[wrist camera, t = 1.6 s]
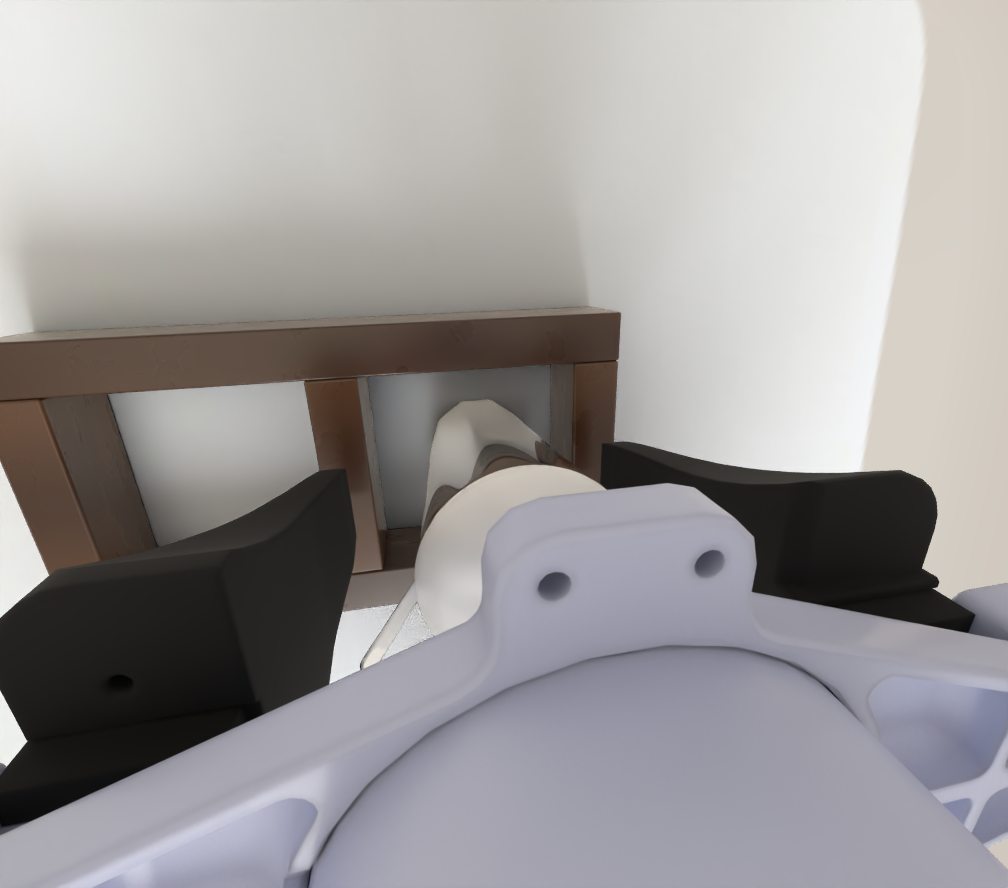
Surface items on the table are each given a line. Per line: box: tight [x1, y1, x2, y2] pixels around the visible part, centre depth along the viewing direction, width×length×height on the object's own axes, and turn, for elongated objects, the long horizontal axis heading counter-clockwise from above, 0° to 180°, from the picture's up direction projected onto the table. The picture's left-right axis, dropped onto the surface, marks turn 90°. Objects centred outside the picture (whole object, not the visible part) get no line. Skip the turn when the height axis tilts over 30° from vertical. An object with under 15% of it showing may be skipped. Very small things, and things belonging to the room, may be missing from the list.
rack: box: [0, 307, 621, 612], centre depth 15 cm, size 9×17×3 cm, turn 92°
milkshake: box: [360, 400, 606, 670], centre depth 12 cm, size 4×5×10 cm
